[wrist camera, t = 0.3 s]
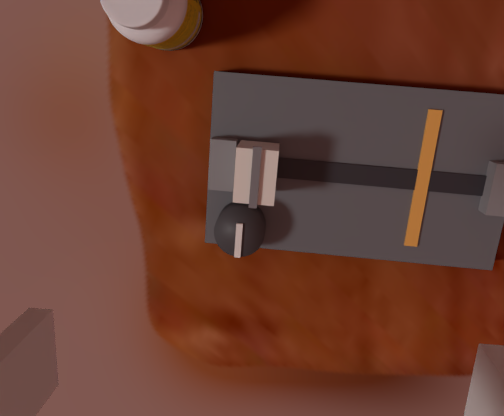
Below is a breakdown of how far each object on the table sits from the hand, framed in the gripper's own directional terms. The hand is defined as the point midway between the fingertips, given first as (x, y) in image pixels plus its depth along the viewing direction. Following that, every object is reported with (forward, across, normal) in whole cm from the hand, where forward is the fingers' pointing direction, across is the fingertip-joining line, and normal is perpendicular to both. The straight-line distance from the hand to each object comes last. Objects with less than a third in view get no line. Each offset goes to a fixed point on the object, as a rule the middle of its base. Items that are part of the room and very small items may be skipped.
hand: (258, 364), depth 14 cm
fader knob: (+24, -1, +2) cm, 24 cm away
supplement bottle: (+26, -9, +13) cm, 31 cm away
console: (+26, +7, +2) cm, 27 cm away
